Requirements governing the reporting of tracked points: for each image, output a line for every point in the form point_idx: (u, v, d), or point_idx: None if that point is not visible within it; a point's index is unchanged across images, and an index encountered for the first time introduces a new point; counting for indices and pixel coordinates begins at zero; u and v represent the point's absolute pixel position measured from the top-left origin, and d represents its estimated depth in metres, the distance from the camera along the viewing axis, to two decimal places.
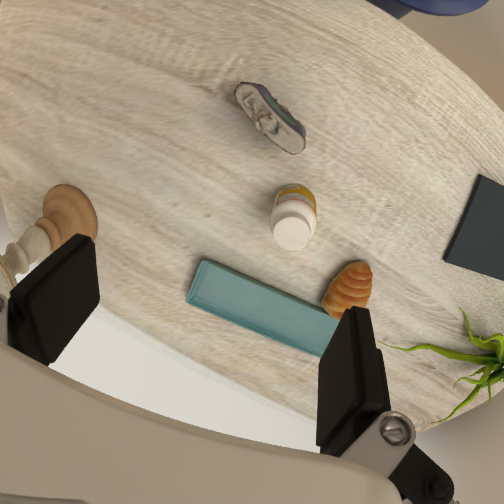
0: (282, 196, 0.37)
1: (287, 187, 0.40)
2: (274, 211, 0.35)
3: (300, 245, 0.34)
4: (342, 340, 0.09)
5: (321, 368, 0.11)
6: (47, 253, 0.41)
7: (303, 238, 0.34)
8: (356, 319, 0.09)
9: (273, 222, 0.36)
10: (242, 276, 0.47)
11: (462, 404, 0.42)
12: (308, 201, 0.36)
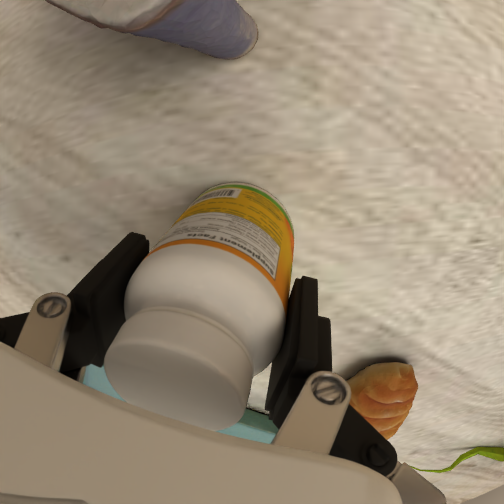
0: (176, 225, 0.11)
1: (208, 193, 0.14)
2: (128, 286, 0.09)
3: (212, 424, 0.08)
4: (290, 307, 0.10)
5: None
6: None
7: (218, 410, 0.08)
8: (302, 287, 0.10)
9: None
10: None
11: None
12: (258, 244, 0.10)
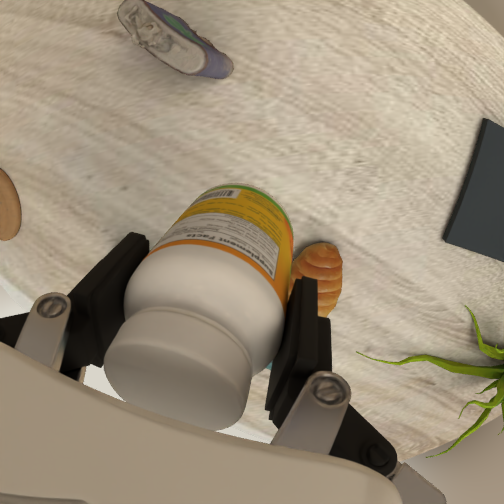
0: (175, 225, 0.11)
1: (208, 193, 0.14)
2: (128, 287, 0.09)
3: (211, 424, 0.08)
4: (290, 307, 0.10)
5: None
6: None
7: (217, 410, 0.08)
8: (302, 287, 0.10)
9: None
10: None
11: (469, 431, 0.30)
12: (257, 244, 0.10)
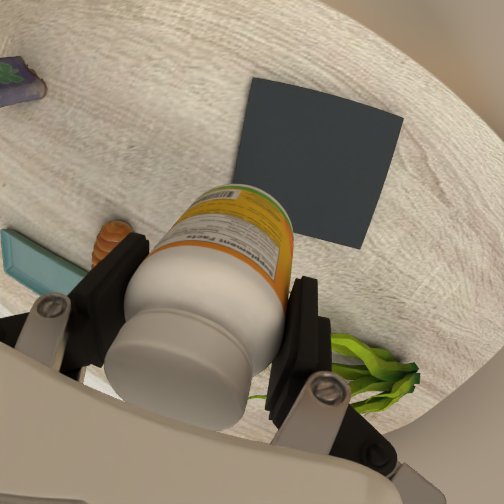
0: (175, 226, 0.11)
1: (208, 194, 0.14)
2: (128, 288, 0.09)
3: (211, 425, 0.08)
4: (290, 307, 0.10)
5: None
6: None
7: (217, 411, 0.08)
8: (302, 287, 0.10)
9: None
10: (29, 243, 0.38)
11: None
12: (257, 246, 0.10)
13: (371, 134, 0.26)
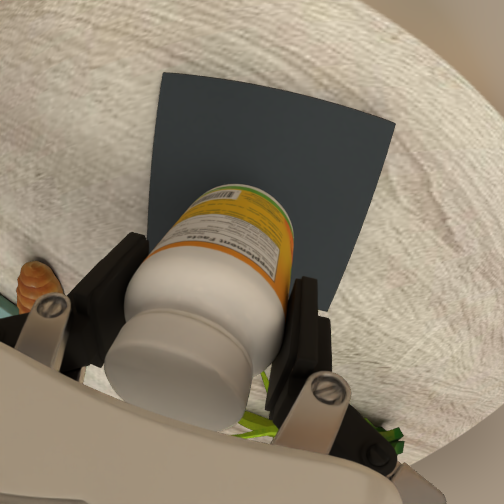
0: (175, 227, 0.11)
1: (208, 195, 0.14)
2: (128, 288, 0.09)
3: (211, 425, 0.08)
4: (290, 307, 0.10)
5: None
6: None
7: (218, 412, 0.08)
8: (302, 287, 0.10)
9: None
10: None
11: None
12: (257, 246, 0.10)
13: (343, 149, 0.17)
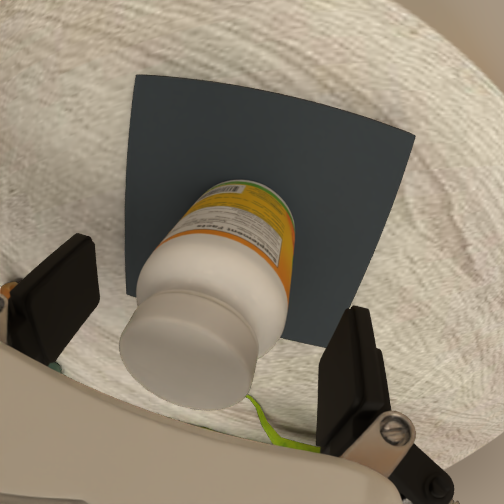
0: (185, 218, 0.12)
1: (214, 189, 0.14)
2: (141, 273, 0.10)
3: (219, 402, 0.09)
4: (342, 340, 0.09)
5: (321, 368, 0.11)
6: None
7: (226, 387, 0.08)
8: (356, 319, 0.09)
9: None
10: None
11: None
12: (262, 235, 0.11)
13: (353, 167, 0.14)
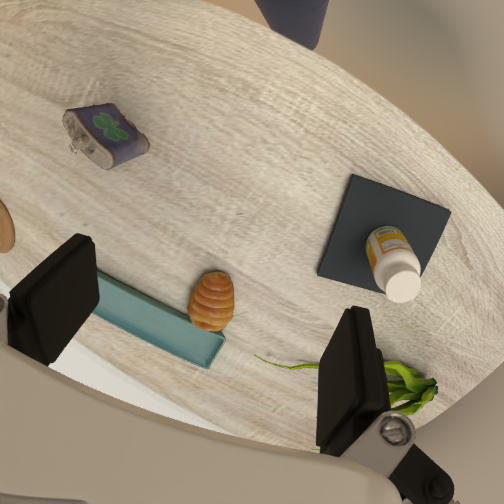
0: (385, 242, 0.33)
1: (384, 230, 0.36)
2: (383, 260, 0.31)
3: (409, 297, 0.30)
4: (342, 340, 0.09)
5: (321, 367, 0.11)
6: None
7: (413, 291, 0.30)
8: (356, 319, 0.09)
9: (381, 272, 0.32)
10: (114, 283, 0.47)
11: None
12: (411, 249, 0.32)
13: (428, 223, 0.36)
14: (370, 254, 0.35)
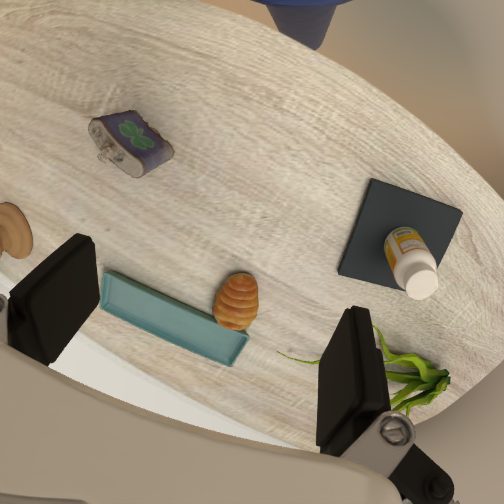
0: (404, 243, 0.35)
1: (401, 231, 0.37)
2: (403, 260, 0.33)
3: (427, 294, 0.32)
4: (342, 340, 0.09)
5: (321, 368, 0.11)
6: None
7: (431, 288, 0.31)
8: (356, 319, 0.09)
9: (401, 271, 0.33)
10: (138, 286, 0.49)
11: None
12: (428, 249, 0.34)
13: (442, 223, 0.37)
14: (389, 254, 0.37)
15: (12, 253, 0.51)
